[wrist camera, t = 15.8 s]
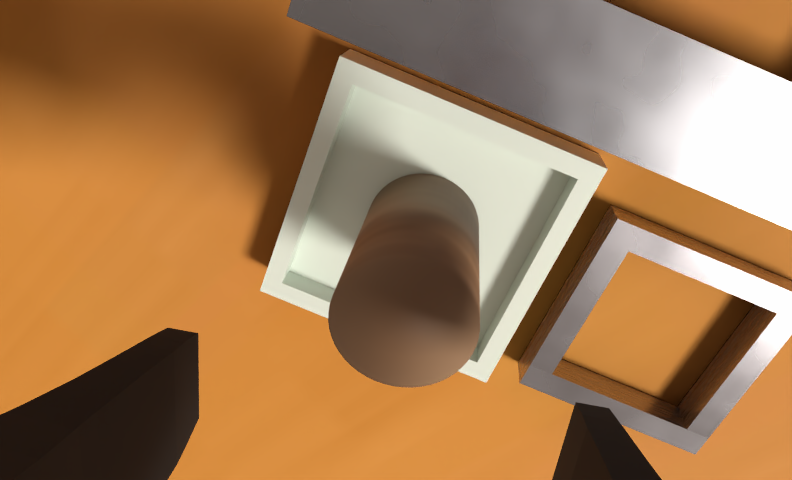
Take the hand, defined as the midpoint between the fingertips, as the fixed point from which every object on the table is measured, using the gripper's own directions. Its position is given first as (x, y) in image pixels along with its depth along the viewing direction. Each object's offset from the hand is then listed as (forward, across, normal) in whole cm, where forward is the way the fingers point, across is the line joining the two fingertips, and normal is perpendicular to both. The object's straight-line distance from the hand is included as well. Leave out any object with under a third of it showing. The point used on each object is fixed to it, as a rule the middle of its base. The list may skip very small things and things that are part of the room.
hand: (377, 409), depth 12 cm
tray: (+10, 0, 0) cm, 10 cm away
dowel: (+9, 0, 0) cm, 9 cm away
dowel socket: (+10, -8, +3) cm, 13 cm away
